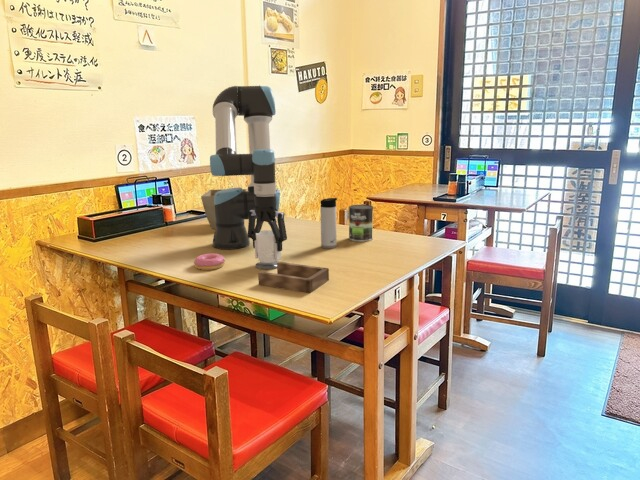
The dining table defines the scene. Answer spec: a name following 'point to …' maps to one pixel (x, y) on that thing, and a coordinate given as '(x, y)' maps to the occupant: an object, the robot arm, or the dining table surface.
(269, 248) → the white cup
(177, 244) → the dining table surface
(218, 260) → the doughnut
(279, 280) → the brown wooden tray
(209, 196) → the flower pot
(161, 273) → the dining table surface
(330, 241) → the travel mug
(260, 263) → the coaster
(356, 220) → the coffee can
